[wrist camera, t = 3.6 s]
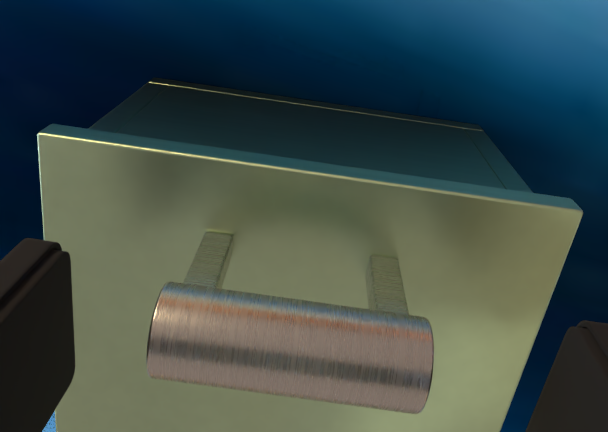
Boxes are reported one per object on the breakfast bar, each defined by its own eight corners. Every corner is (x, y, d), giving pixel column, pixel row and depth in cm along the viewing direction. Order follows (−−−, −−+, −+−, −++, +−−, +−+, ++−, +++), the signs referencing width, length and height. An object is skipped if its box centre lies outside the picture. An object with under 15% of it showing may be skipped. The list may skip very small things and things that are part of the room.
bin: (153, 77, 22) (53, 153, 14) (479, 124, 22) (560, 226, 14) (144, 448, 31) (78, 627, 23) (381, 480, 31) (398, 668, 23)
